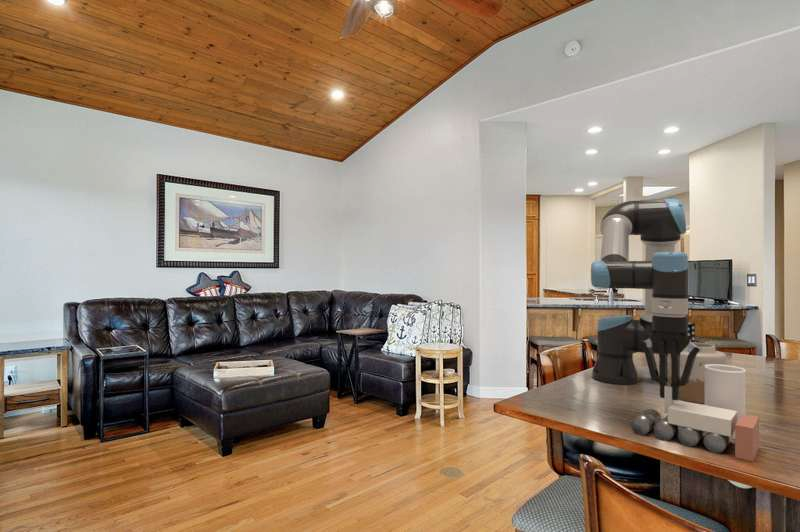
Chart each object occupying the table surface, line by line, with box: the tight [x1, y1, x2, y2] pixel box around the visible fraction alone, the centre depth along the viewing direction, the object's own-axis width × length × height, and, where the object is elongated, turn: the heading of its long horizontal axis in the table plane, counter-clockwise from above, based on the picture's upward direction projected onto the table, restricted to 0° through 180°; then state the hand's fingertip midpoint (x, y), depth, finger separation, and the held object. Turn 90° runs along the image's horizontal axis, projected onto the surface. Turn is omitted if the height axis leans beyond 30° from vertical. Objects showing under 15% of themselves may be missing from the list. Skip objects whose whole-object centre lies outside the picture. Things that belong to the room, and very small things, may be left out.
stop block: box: [734, 414, 760, 463], centre depth 99 cm, size 3×10×7 cm, turn 135°
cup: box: [704, 364, 747, 440], centre depth 111 cm, size 8×8×16 cm
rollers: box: [631, 408, 733, 454], centre depth 107 cm, size 19×10×4 cm, turn 46°
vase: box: [667, 341, 727, 405], centre depth 141 cm, size 15×15×17 cm
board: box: [667, 399, 737, 437], centre depth 104 cm, size 12×9×4 cm
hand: (669, 412), depth 109 cm, fingers closed
